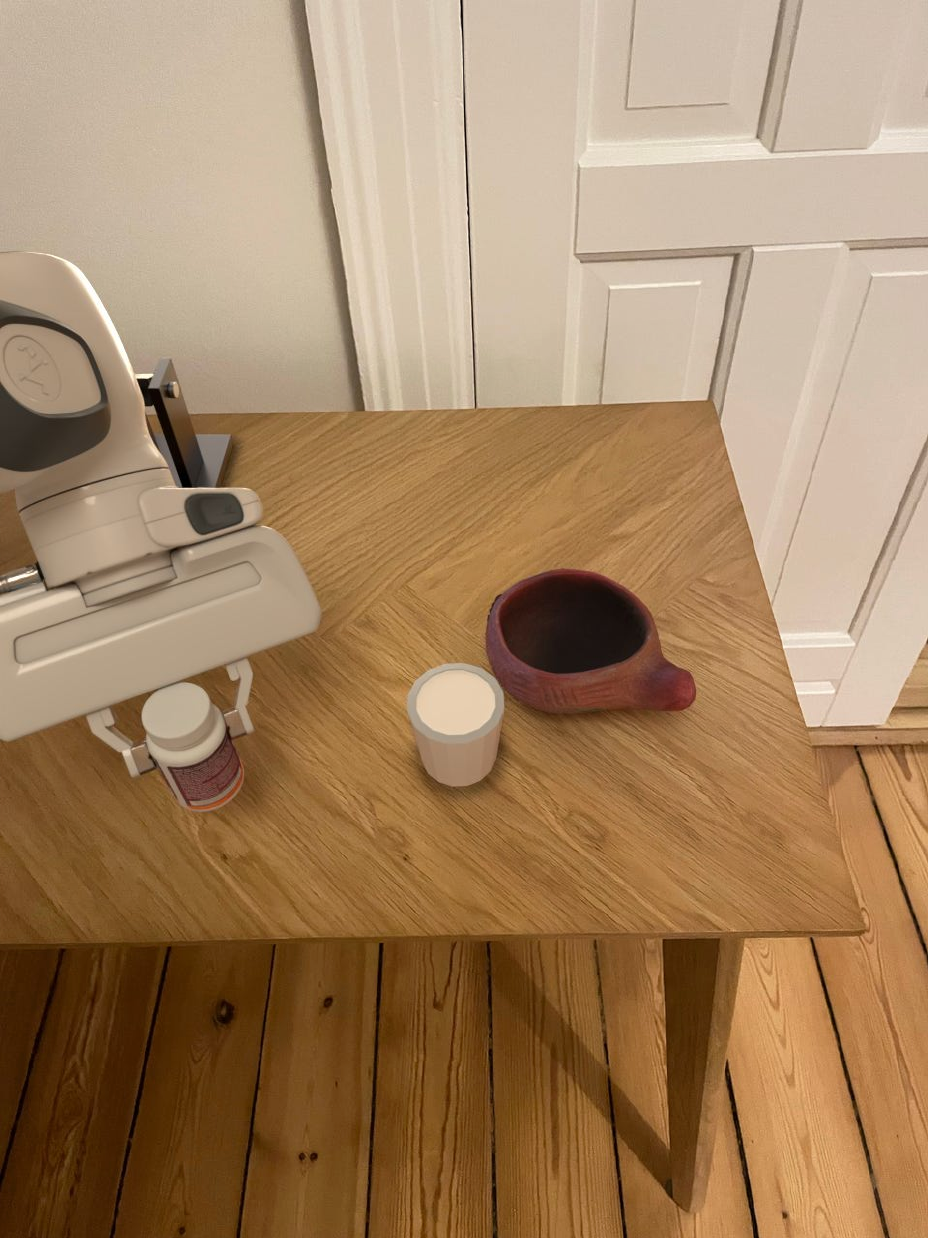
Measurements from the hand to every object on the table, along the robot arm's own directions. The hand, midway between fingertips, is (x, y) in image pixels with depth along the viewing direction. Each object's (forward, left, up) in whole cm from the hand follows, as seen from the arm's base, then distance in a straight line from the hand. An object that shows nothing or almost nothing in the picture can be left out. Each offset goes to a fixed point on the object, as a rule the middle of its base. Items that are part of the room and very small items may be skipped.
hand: (195, 753), depth 58 cm
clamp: (+5, +39, -12) cm, 41 cm away
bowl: (+29, +2, -12) cm, 32 cm away
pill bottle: (0, +1, -5) cm, 5 cm away
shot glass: (+17, 0, -12) cm, 21 cm away
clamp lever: (+3, +35, +1) cm, 35 cm away
